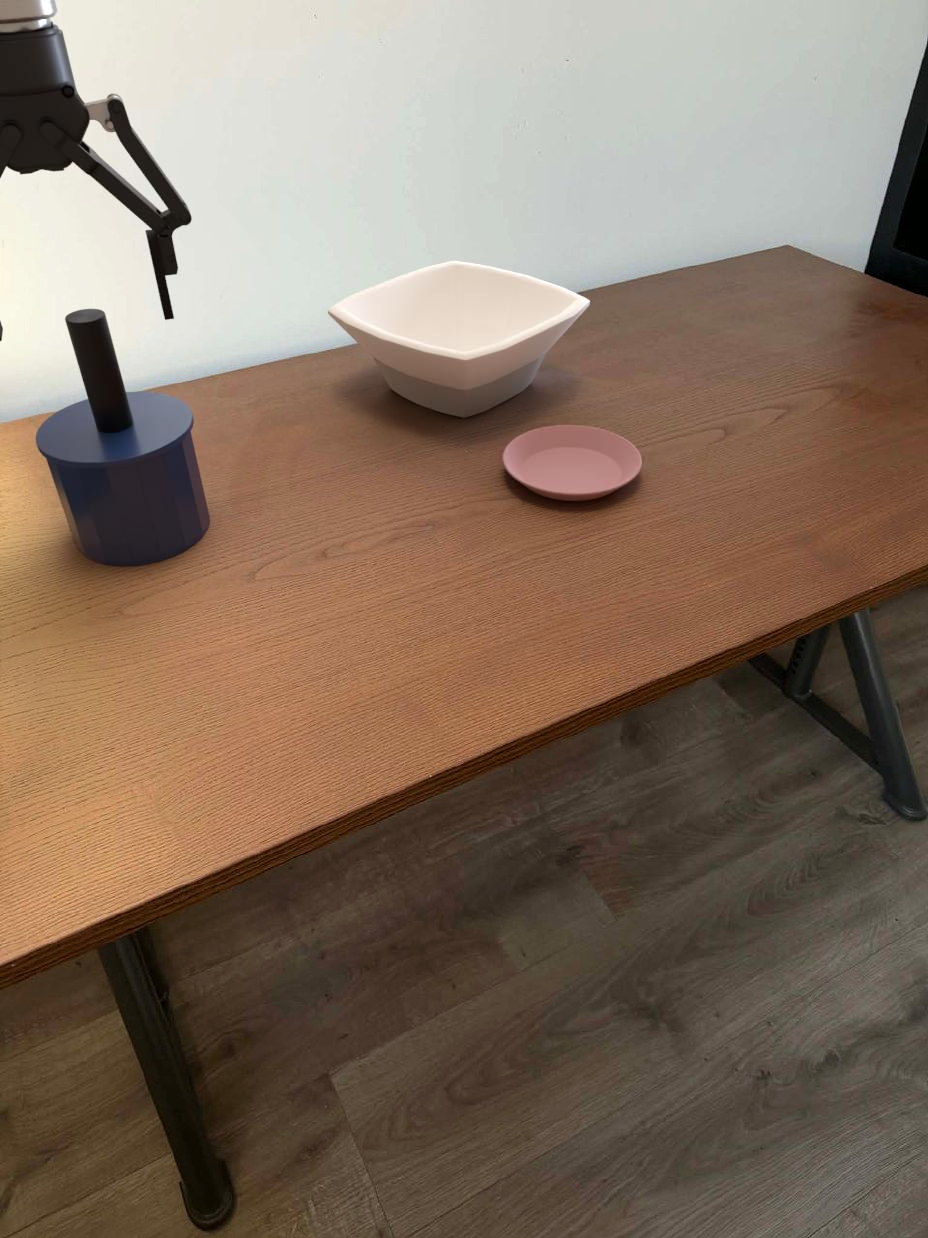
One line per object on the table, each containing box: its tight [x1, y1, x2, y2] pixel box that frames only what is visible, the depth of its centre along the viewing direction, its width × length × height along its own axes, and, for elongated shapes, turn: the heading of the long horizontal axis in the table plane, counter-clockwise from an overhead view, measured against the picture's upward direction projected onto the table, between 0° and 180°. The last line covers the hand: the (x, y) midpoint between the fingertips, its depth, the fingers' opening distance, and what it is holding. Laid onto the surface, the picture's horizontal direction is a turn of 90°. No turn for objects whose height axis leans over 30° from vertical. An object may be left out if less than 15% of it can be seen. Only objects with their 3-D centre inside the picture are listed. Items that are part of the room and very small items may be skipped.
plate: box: [501, 424, 643, 502], centre depth 97 cm, size 14×14×2 cm
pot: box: [45, 431, 211, 567], centre depth 87 cm, size 13×13×10 cm
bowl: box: [327, 260, 591, 419], centre depth 111 cm, size 24×25×10 cm
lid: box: [35, 308, 195, 469], centre depth 81 cm, size 14×14×11 cm
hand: (84, 324), depth 78 cm, fingers open, 13 cm apart
